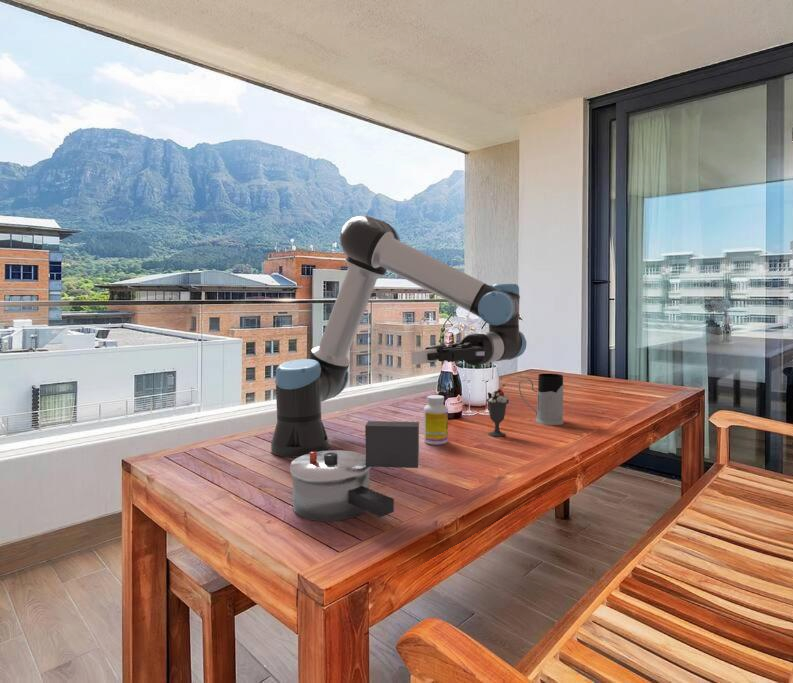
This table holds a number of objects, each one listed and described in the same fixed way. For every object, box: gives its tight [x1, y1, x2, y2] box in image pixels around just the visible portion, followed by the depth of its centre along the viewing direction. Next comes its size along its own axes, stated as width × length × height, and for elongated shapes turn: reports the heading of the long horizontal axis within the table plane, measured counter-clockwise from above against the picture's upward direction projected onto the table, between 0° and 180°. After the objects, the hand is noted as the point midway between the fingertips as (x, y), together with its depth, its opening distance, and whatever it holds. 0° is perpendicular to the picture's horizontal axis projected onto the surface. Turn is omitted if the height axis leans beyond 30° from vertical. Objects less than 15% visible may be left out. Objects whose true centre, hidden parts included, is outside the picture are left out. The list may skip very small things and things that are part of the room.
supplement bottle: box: [423, 394, 449, 446], centre depth 141 cm, size 7×7×13 cm
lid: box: [289, 420, 420, 484], centre depth 99 cm, size 25×16×9 cm, turn 84°
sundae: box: [485, 384, 510, 438], centre depth 148 cm, size 7×7×15 cm
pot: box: [291, 471, 395, 522], centre depth 98 cm, size 26×15×7 cm, turn 44°
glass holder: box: [518, 373, 565, 426], centre depth 163 cm, size 9×14×15 cm, turn 70°
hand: (414, 357), depth 107 cm, fingers closed
